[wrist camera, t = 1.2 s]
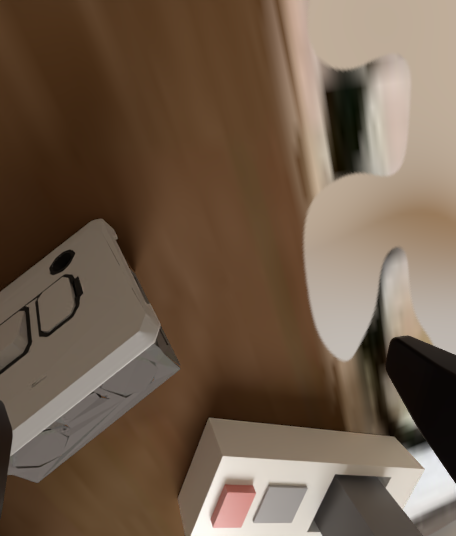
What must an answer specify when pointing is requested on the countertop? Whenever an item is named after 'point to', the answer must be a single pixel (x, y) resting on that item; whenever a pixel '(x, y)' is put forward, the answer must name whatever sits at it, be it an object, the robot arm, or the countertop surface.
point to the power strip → (281, 476)
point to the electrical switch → (75, 349)
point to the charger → (361, 509)
